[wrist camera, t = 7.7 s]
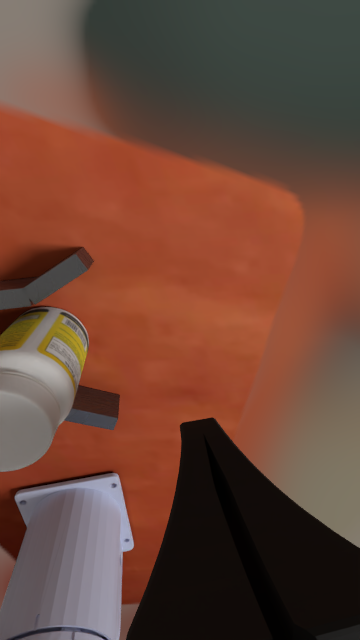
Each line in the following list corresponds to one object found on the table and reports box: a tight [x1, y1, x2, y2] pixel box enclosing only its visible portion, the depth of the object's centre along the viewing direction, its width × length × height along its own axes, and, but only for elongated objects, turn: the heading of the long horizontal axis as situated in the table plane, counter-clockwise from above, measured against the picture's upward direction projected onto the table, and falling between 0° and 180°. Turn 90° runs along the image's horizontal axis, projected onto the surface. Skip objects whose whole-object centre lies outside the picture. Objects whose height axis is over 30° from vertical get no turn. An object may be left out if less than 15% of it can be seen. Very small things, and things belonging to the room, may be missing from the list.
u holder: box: [0, 247, 120, 430], centre depth 18 cm, size 12×9×2 cm
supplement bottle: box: [0, 307, 89, 472], centre depth 15 cm, size 5×5×8 cm
